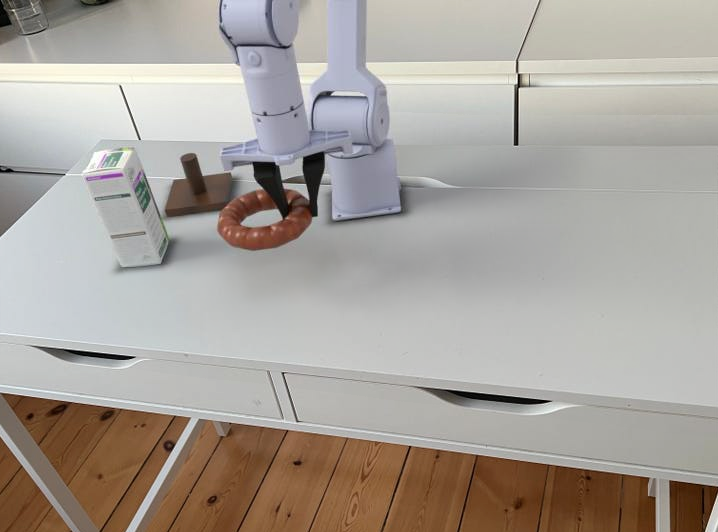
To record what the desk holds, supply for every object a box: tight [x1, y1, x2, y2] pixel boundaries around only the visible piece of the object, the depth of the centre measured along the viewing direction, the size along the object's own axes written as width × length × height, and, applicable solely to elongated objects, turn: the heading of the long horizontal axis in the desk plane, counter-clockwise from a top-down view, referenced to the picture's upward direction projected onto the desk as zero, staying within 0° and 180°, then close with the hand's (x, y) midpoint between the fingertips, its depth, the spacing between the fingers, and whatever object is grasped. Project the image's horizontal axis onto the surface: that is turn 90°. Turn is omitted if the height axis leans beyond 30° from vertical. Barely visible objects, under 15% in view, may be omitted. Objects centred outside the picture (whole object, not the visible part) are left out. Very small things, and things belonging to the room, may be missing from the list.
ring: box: [216, 188, 313, 252], centre depth 91 cm, size 11×11×3 cm
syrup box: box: [80, 147, 170, 268], centre depth 101 cm, size 6×6×14 cm
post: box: [164, 152, 233, 218], centre depth 114 cm, size 9×9×7 cm
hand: (300, 214), depth 91 cm, fingers closed on ring, 3 cm apart
